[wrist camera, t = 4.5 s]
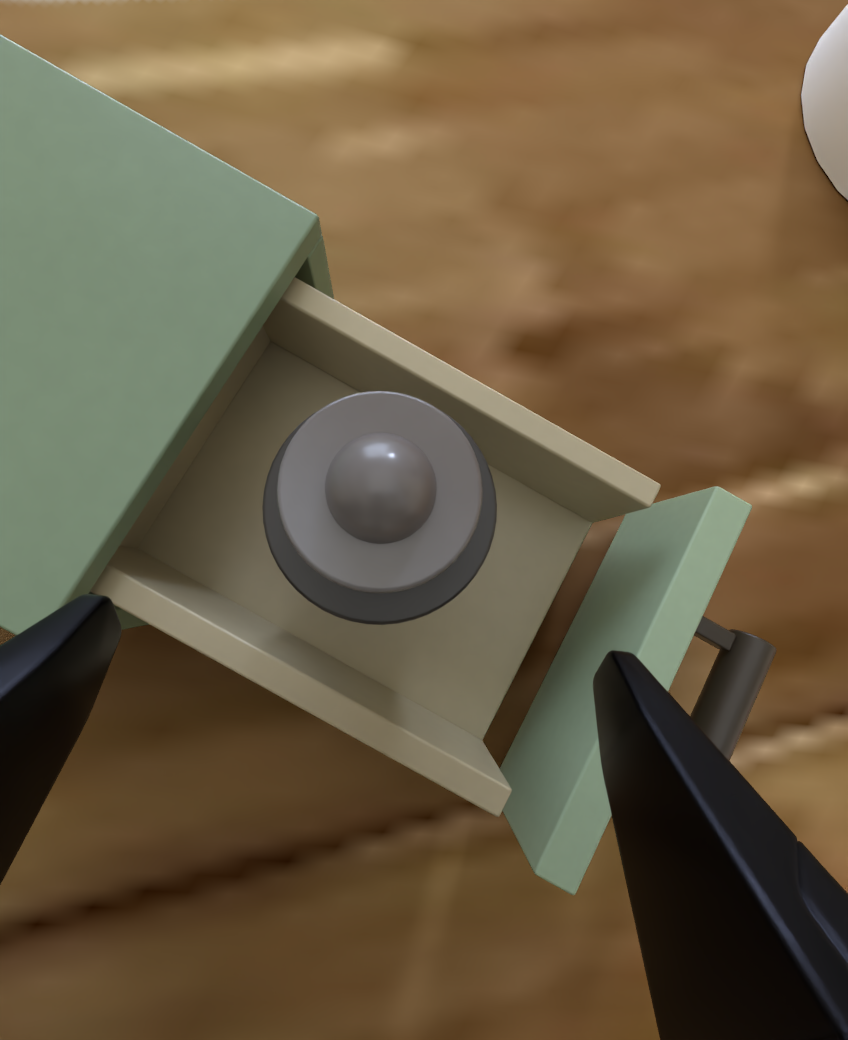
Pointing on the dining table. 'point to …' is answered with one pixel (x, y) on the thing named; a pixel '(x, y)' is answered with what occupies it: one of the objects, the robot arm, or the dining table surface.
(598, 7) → the dining table surface
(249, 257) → the cabinet
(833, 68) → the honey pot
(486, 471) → the pepper mill
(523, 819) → the drawer
